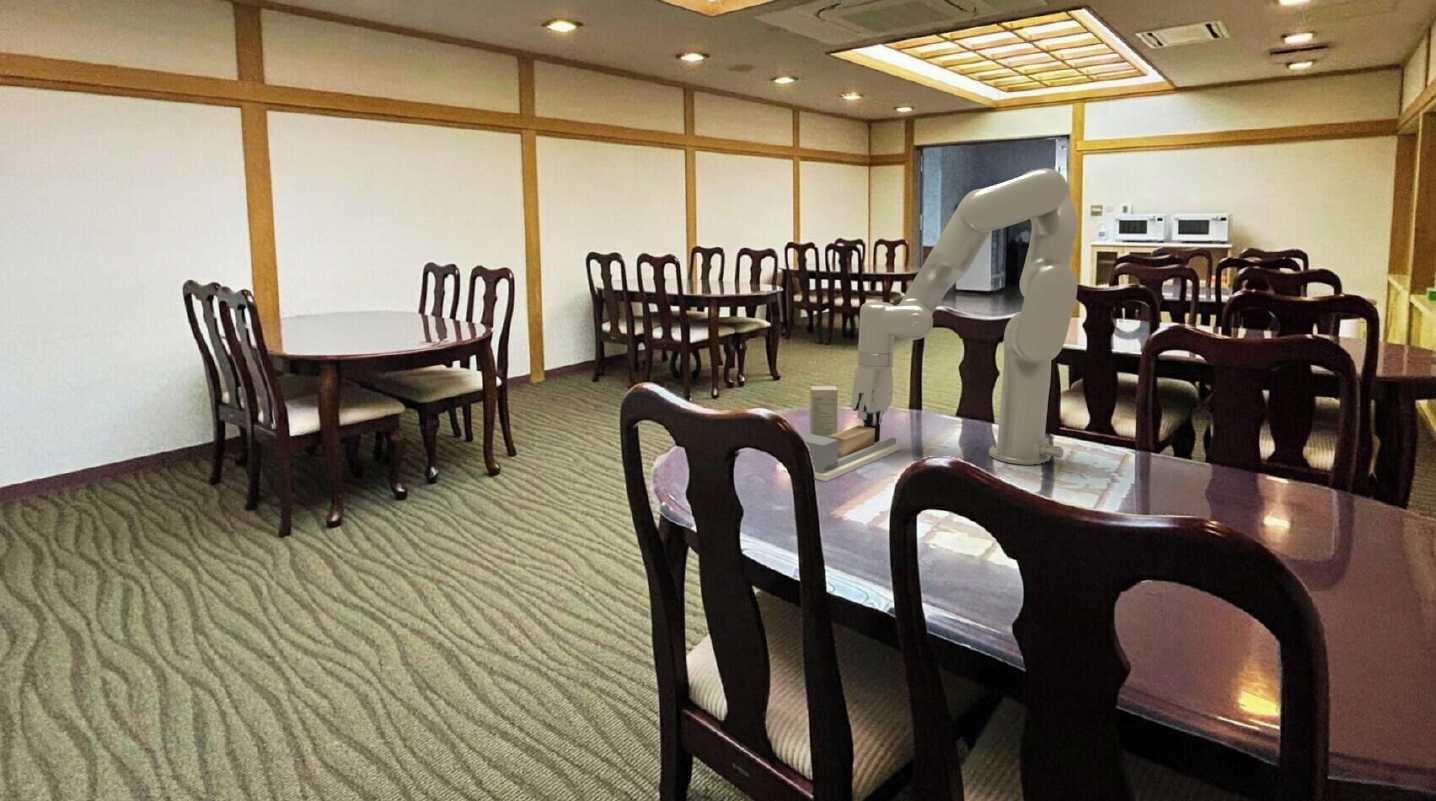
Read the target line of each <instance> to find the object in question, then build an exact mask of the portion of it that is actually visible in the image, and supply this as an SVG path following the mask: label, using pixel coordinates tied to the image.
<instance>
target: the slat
mask: <svg viewBox="0 0 1436 801" xmlns="http://www.w3.org/2000/svg"><path fill="white" fill-rule="evenodd" d="M874 437H875V428H870V427H865V426H864V425H857V426H853V427H851V428H847V429H844V430H843V431H839V432H837V433H836V434H833V435H830V436H829V438H832V439H837V440H839V443H838V459H840V458H842V457H845V456H847V455H850V454H852V453H855V452H857V451H860V450H862V449H865V448H867V447H870V446H872V445H874Z"/></svg>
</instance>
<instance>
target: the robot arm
mask: <svg viewBox="0 0 1436 801" xmlns="http://www.w3.org/2000/svg"><path fill="white" fill-rule="evenodd" d="M1076 214H1077V213H1076V211H1075V207H1074V205H1073V202H1072V200H1071V198H1070V196H1069V195H1068V183H1067V181H1066V178H1065V177H1064V175H1063V174H1061V172H1059V171H1057V170H1055V169H1053V168H1049V167H1048V168H1039V169H1032V170H1030V171H1027V172H1025V173H1024V174H1022V175H1021V176H1018V177H1015V178H1011V179H1009V180H1006V181H1004V182H1000V183H997V184H994V185H991V186H987V187H982V188H978V189H973V190H971V191H969V192H968V193H967V194H966V195H964V197H963V198H962V200H961V201H960V202H959V205H957V207H956V209H955V211H954V213H953V214H952V215H951V218H949V221H948V223H947V224H946V226H945V228H944V229H943V231H942V233H941V234H940V236H939V238H938V239H937V241H936V242H935V244H934V246H933V247H932V249H931V251H930V253H929V254H928V256H927V258H926V259H925V261H924V263H923V265H922V267H921V268H920V270H919V271H918V273H917V274H916V276H915V278H914V279H913V280H912V282H911V284H910V286H909V287H908V289H907V290H906V292H905V294H904V296H903V297H902V299H901V300H900V302H899V304H898V305H894V304H892V303H890V302H886V301H885V302H883V301H869V302H868V301H867V302H865V303H863V304H862V305H861V307H860V309H859V328H858V349H857V350H858V352H857V367H856V369H855V374H854V377H853V378H854V379H853V385H852V386H853V387H852V394H851V395H852V397H851V410H852V411H853V412H857V419H860V420H862V424H863V426H865V427H870V428H875V437H874V443H876V442H879V440H881V438H880V437H881V424H882V421H883V416H884V414H885V413H886V412H887V411H888V408H890V407H891V405H892V402H893V391H894V390H893V386H894V385H893V365H894V349H895V338H900V339H906V340H913V341H915V340H919V339H920V340H921V339H924V338H925V337H926V336H927V335H929V334H930V333H931V331H932V328H933V326H934V318H933V314H934V312H935V311H936V310H937V308H938V306H939V304H940V303H941V301H942V299H943V298H944V297H945V295H946V294H947V293H948V292H949V290H950V289H951V287H952V286H953V285H955V284H956V282H958V281H959V280H960V279H962V278H963V277H964V275H965V274H966V273H967V272H968V271H969V269H970V268H971V266H972V264H973V263H974V261H975V259H976V258H977V256H978V254H979V253H980V251H981V250H982V247H983V246H984V244H985V243H986V242H987V240H988V238H989V237H990V235H991V233H992V231H996V230H1000V229H1003V228H1007V227H1010V226H1013V225H1016V224H1019V223H1022V222H1025V221H1028V220H1030V222H1031V234H1030V240H1029V244H1028V245H1029V246H1028V249H1027V253H1026V257H1025V261H1024V266H1023V269H1022V272H1021V274H1020V275H1021V276H1020V279H1019V290H1020V292H1021V295H1022V296H1023V302H1022V308H1021V311H1020V312H1017V313H1016V314H1015V315H1013V316H1012V317H1011V318H1010V319H1009V321H1008V322H1007V324H1006V326H1005V330H1004V334H1003V336H1004V337H1003V367H1002V368H1003V369H1002V382H1001V383H1002V384H1001V393H1000V394H1001V395H1000V405H999V415H998V416H999V417H998V426H997V427H998V428H997V440H996V441H997V443H996V444H995V445H992V446H991V447H989V449H988V455H989V457H991V458H993V459H995V460H998V461H1000V462H1004V463H1009V464H1013V465H1025V466H1028V465H1030V466H1032V465H1034V464H1037V465H1042V464H1041V463H1043V464H1045V463H1044V462H1046V461H1048V462H1050V461H1049V460H1051V456H1052V457H1054V458H1059V459H1062V458H1063V455H1064V449H1063V448H1062V446H1058V445H1053V444H1052V445H1051V443H1049V442H1050V438H1049V437H1045V436H1046V426H1047V416H1048V415H1047V414H1048V404H1049V395H1050V388H1051V374H1052V360H1054V359H1055V358H1056V357H1057V356H1058V355H1059V354H1060V352H1061V351H1062V349H1063V347H1064V345H1065V342H1066V339H1067V334H1068V330H1069V327H1070V323H1071V319H1072V316H1073V311H1074V308H1075V304H1076V299H1077V294H1078V280H1077V277H1076V274H1075V272H1074V271H1073V269H1071V267H1070V266H1071V261H1072V256H1073V252H1074V246H1075V240H1076V236H1077V235H1076V234H1077V227H1078V226H1077V215H1076Z"/></svg>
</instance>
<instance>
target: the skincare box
mask: <svg viewBox="0 0 1436 801" xmlns="http://www.w3.org/2000/svg"><path fill="white" fill-rule="evenodd" d="M838 389H839V388H838V385H837V386H836V385H833V386H832V385H831V386H830V385H829V386H828V385H810V396H809V397H810V402H809V403H810V408H809V409H810V411H809V412H810V413H809V416H810V418H809V419H810V421H809V424H810V425H809V426H810V428H809V429H810V430H809V432H810V433H809V434H813V435H818V436H823V437H827V438H829V436H830V435H833V434H836V433H838V393H839V392H838Z"/></svg>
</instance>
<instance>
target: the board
mask: <svg viewBox="0 0 1436 801" xmlns="http://www.w3.org/2000/svg"><path fill="white" fill-rule="evenodd" d="M802 436H803V437H804V440H805V441H806V443H807V445H808V446H809V449H810V454H811V456H812V460H813V465H814V467H815V477H816V479H815V480H819V481H821V482H822V481H823V482H829V481H831V480H833V479H836V478H838V477H840V476H843V475H844V474H848V473H849V472H852V471H855V470H856V469H858V468H862V467H864V466H866V465H868V464H871V463H873V462H875V461H877V460H881V459H882V457H883V458H884V456H885V457H886V456H889V454H890V455H892V454H894V453H896V452H895V451H897V452H899V451H901V450H902V444H901V443H897V438H896V437H891V438H887V439H885V440H881V439H880V440H879V442H876V443H874V445H872V446H870V447H867V448H865V449H862V450H860V451H857V452H855V453H852V454H850V455H847V456H845V457H842V458H840V459H838V443H839V440H837V439H832V438H827V437H823V436H818V435H813V434H810V433H808V432H807V433H805V434H802ZM900 449H901V450H900ZM898 450H899V451H898ZM893 452H894V453H893ZM891 453H892V454H891Z"/></svg>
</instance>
